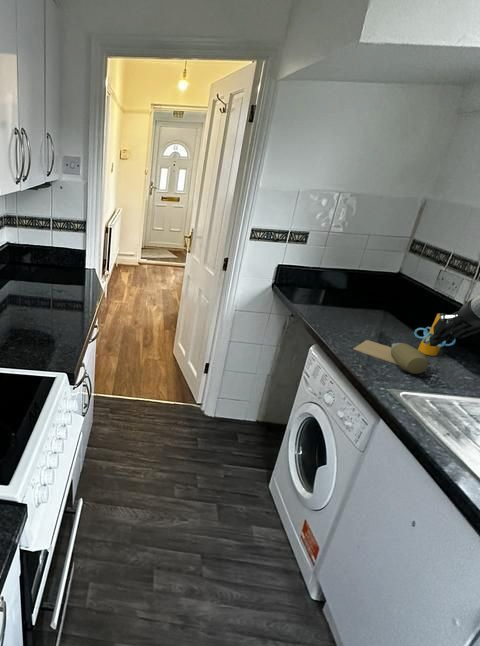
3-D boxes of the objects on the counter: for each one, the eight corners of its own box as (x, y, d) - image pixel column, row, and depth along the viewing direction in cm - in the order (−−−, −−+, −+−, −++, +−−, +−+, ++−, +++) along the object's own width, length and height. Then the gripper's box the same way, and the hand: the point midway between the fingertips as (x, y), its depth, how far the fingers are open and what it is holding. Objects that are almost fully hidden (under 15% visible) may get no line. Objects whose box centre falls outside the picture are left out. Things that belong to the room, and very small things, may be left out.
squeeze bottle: (405, 355, 133) (382, 334, 150) (402, 377, 136) (379, 355, 152) (434, 354, 131) (407, 334, 148) (430, 377, 134) (404, 354, 151)
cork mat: (420, 358, 149) (421, 356, 149) (409, 368, 141) (410, 367, 141) (366, 341, 162) (366, 339, 162) (352, 349, 153) (353, 348, 153)
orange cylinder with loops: (403, 343, 160) (418, 307, 154) (432, 347, 159) (449, 311, 153) (421, 358, 149) (438, 320, 143) (452, 362, 148) (471, 324, 142)
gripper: (513, 299, 107) (455, 334, 129) (455, 292, 110) (408, 328, 132) (517, 325, 105) (457, 356, 126) (458, 318, 107) (409, 350, 129)
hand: (432, 342), depth 129 cm, fingers closed
